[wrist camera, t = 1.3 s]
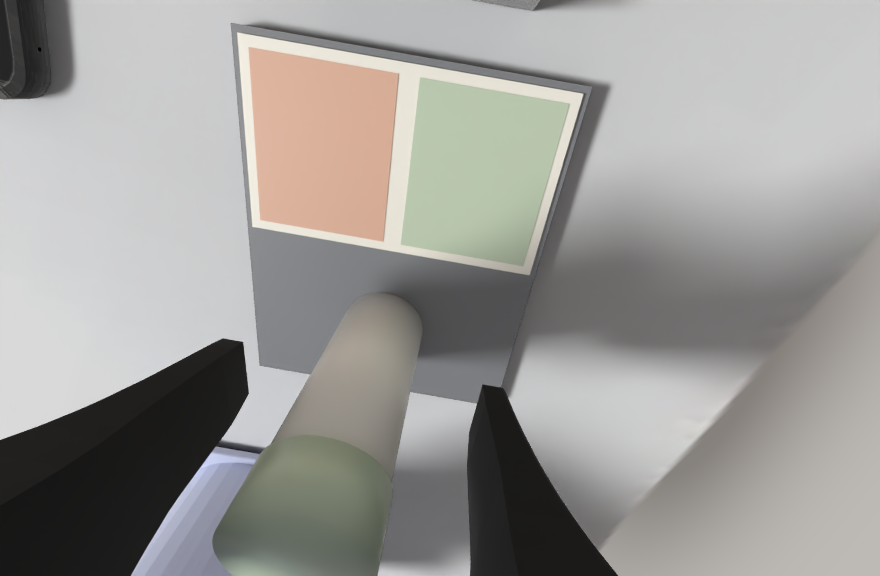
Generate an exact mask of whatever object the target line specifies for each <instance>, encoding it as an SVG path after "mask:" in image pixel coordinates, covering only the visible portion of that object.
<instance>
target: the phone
mask: <svg viewBox="0 0 880 576" xmlns="http://www.w3.org/2000/svg"><path fill="white" fill-rule="evenodd" d="M38 47H40V48H41V51H42V52H39V51H38ZM50 77H51V69H50V60H49V51H48V42H47V33H46V23H45V14H44V5H43V0H0V99H31V98H38V97H40V96H41V95H43V94H44V93H45V92H46V91H47V89H48V87H49V85H50Z"/></svg>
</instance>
